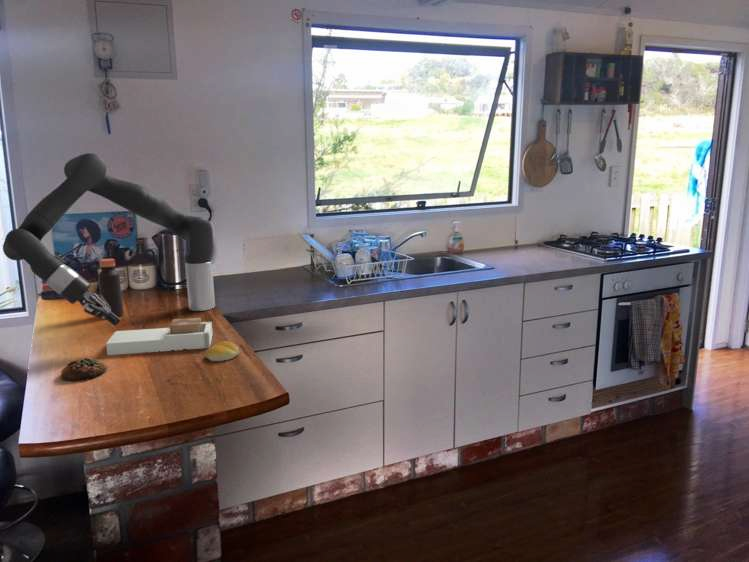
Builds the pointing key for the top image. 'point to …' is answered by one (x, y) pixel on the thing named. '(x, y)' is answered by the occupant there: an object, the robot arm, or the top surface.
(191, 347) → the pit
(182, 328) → the block
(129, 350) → the ledge
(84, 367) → the bread roll
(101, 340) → the top surface
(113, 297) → the bottle
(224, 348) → the bread roll
